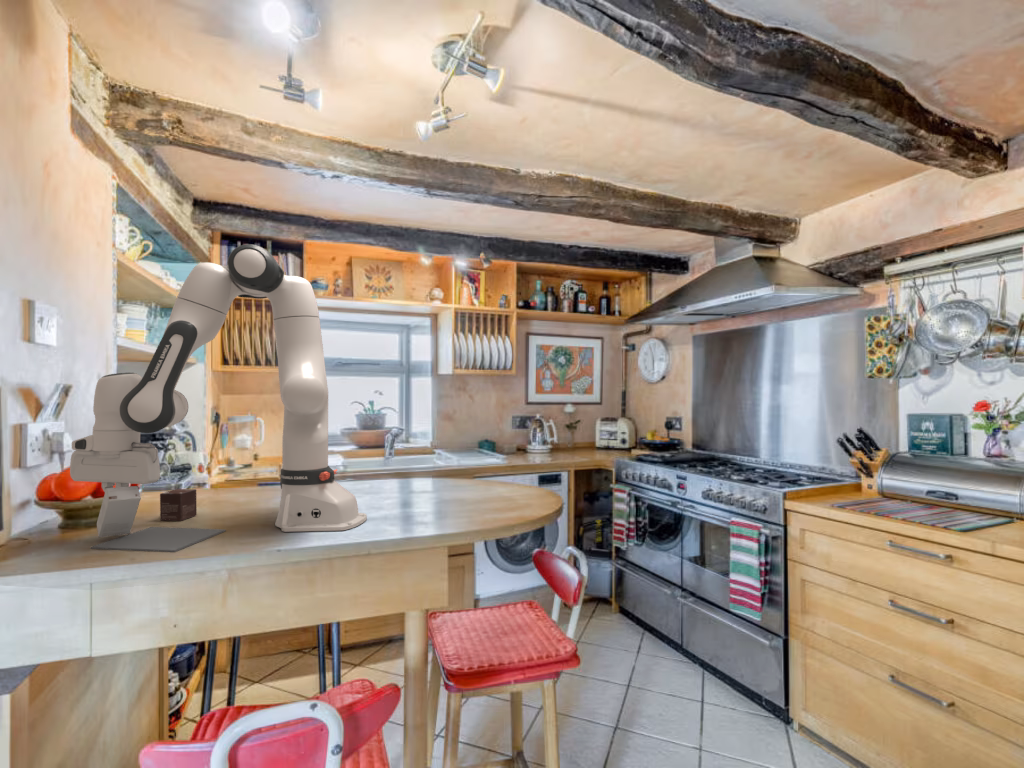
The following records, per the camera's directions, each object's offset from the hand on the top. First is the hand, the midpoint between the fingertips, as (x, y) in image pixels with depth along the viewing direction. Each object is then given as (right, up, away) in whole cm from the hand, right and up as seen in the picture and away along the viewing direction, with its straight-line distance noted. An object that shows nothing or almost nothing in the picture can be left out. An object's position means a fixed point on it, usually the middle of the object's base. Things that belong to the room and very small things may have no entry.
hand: (114, 501), depth 118 cm
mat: (+12, -9, -1) cm, 15 cm away
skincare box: (-1, -7, 0) cm, 7 cm away
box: (+3, -9, +18) cm, 20 cm away
